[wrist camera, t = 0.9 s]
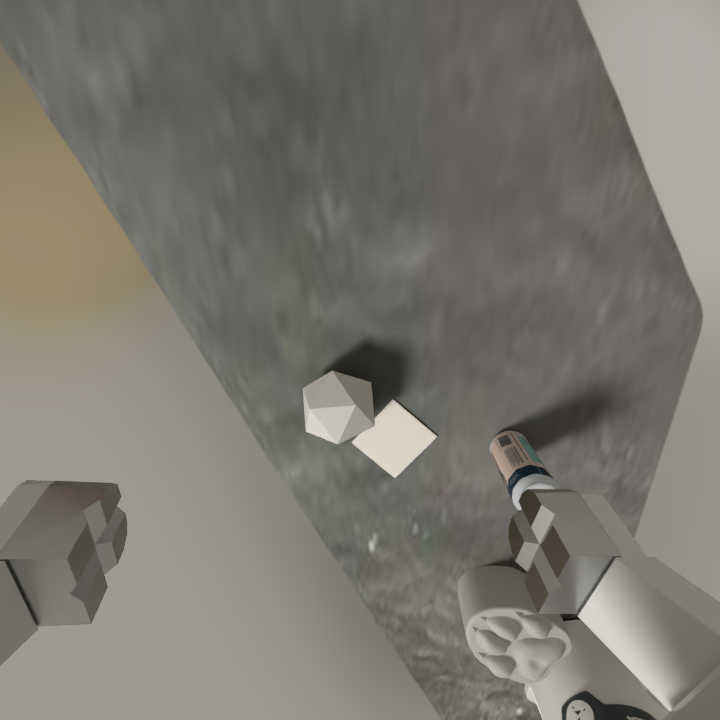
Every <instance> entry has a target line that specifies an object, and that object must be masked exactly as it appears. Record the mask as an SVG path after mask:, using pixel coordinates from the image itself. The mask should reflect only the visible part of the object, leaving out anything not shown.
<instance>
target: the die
mask: <svg viewBox="0 0 720 720" xmlns="http://www.w3.org/2000/svg"><path fill="white" fill-rule="evenodd" d="M303 396H304V411H305V426H306V432H309V433H311V434H314V435H316V436H319V437H321V438H324V439H326V440H329V441H331V442H334V443H336V444H339V443H341V442H343V441H345V440H347V439H349V438H351V437H353V436H355V435H358V434H360V433H362V432H364V431H366V430H368V429H370V428H372V427H374V426H375V420H374V408H373V396H372V385H371V382H368V381H365V380H362V379H358V378H355V377H352V376H348V375H345V374H342V373H338V372H335V371H331V372H329V373H328V374H326V375H324V376H323V377H321V378H319V379H318V380H316V381H314V382H313V383H311V384H309V385H308V386H306V387H305V388H303Z"/></svg>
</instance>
